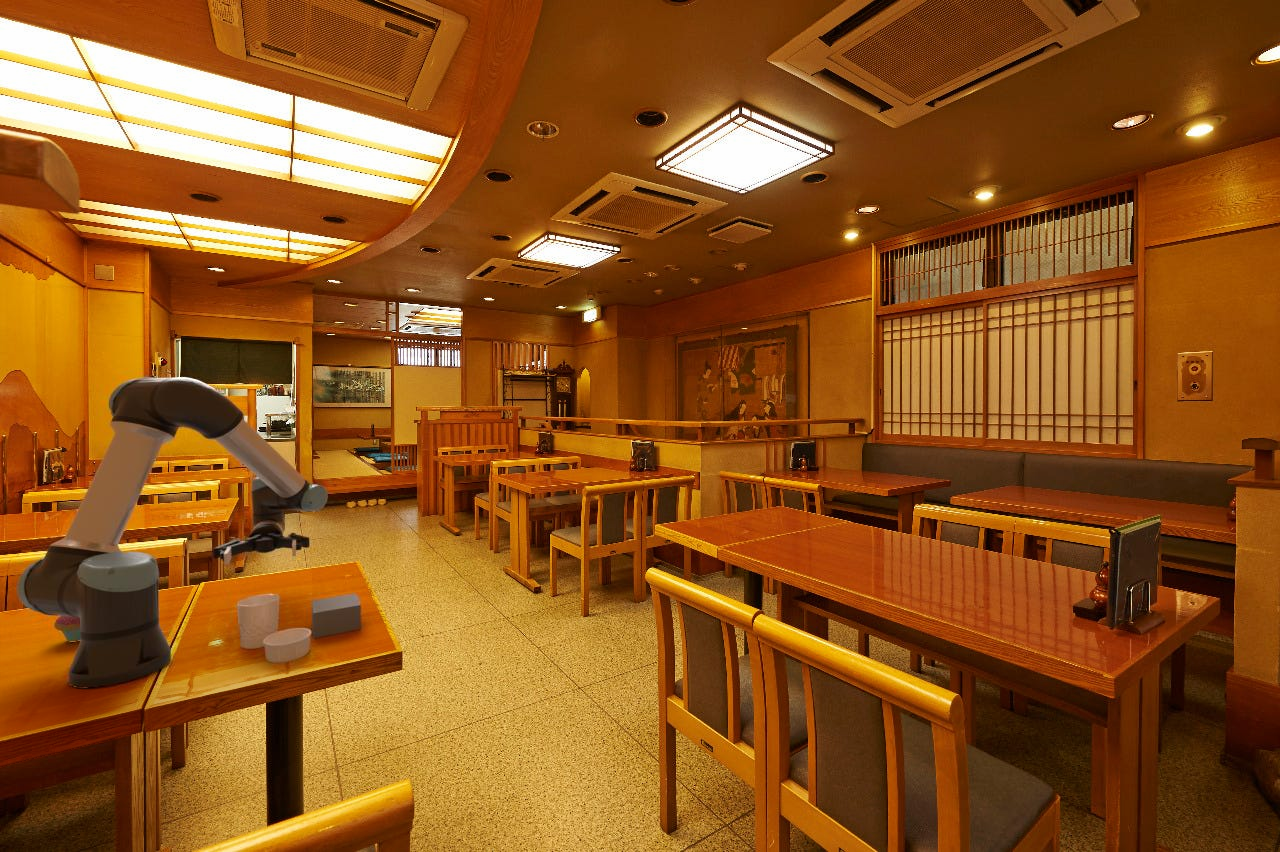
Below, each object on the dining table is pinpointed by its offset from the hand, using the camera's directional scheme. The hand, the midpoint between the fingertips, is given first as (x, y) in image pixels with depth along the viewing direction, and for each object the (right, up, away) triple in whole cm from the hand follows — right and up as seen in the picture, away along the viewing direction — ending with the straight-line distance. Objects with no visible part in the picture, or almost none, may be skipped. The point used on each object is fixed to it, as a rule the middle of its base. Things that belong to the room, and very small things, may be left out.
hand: (260, 554), depth 132 cm
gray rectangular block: (+17, -18, +2) cm, 25 cm away
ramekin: (+15, -19, -13) cm, 28 cm away
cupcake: (-38, -18, -5) cm, 43 cm away
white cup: (+5, -19, -7) cm, 21 cm away
